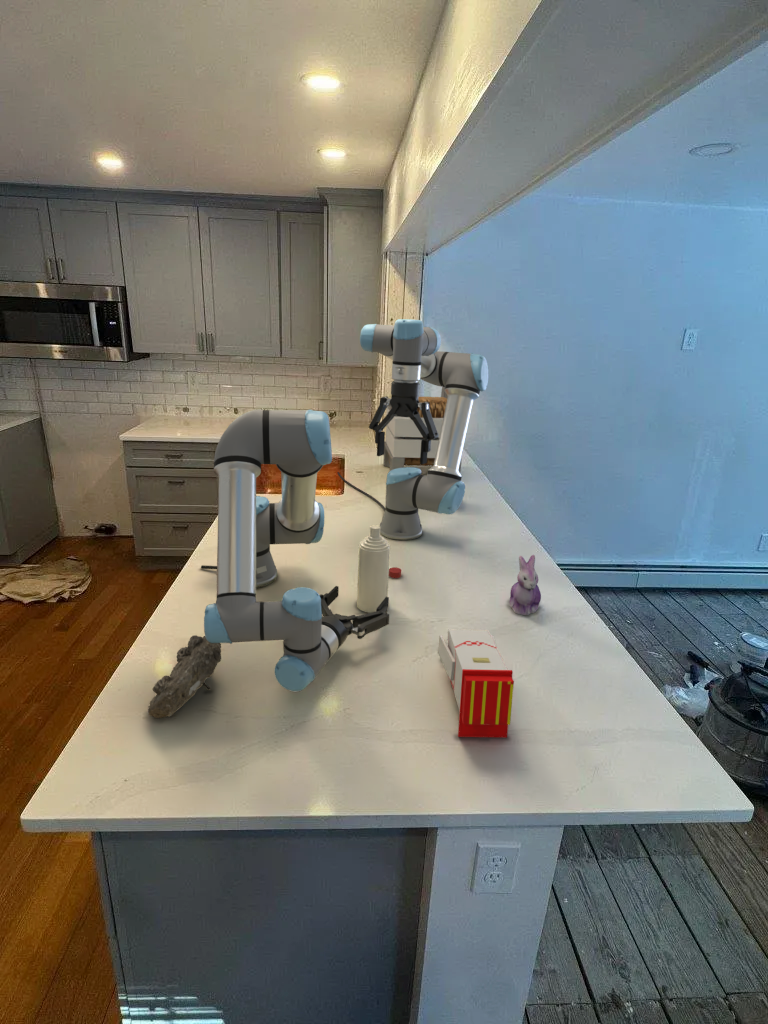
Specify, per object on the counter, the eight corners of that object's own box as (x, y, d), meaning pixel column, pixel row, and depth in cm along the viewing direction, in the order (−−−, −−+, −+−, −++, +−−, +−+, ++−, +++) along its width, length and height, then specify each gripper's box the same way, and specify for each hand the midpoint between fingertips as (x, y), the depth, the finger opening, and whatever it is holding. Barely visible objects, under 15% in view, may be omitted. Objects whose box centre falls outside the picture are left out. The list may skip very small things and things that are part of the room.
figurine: (523, 619, 147) (531, 567, 142) (498, 602, 156) (505, 552, 150) (551, 612, 151) (559, 561, 146) (525, 595, 160) (532, 546, 155)
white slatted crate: (382, 463, 289) (386, 382, 275) (445, 464, 293) (451, 384, 279) (390, 482, 257) (394, 392, 243) (460, 483, 261) (468, 394, 247)
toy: (488, 613, 130) (523, 677, 101) (484, 667, 133) (517, 744, 104) (435, 612, 130) (455, 676, 101) (432, 666, 133) (451, 743, 103)
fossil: (175, 637, 125) (222, 606, 120) (205, 666, 128) (253, 637, 123) (125, 712, 105) (179, 678, 100) (162, 744, 108) (217, 713, 103)
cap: (398, 579, 166) (398, 573, 166) (386, 576, 168) (386, 571, 167) (403, 574, 170) (403, 568, 169) (391, 571, 171) (391, 566, 170)
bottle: (352, 609, 149) (355, 530, 141) (362, 595, 156) (364, 519, 148) (382, 615, 147) (386, 534, 139) (390, 600, 154) (394, 523, 146)
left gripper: (274, 640, 129) (317, 599, 147) (376, 667, 121) (408, 620, 139) (273, 611, 126) (317, 573, 145) (378, 636, 118) (409, 593, 137)
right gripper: (358, 377, 152) (356, 454, 159) (442, 387, 141) (436, 469, 148) (372, 375, 158) (370, 449, 166) (454, 384, 147) (448, 464, 154)
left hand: (361, 596), depth 142 cm, fingers open, 13 cm apart
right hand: (401, 459), depth 157 cm, fingers open, 13 cm apart
